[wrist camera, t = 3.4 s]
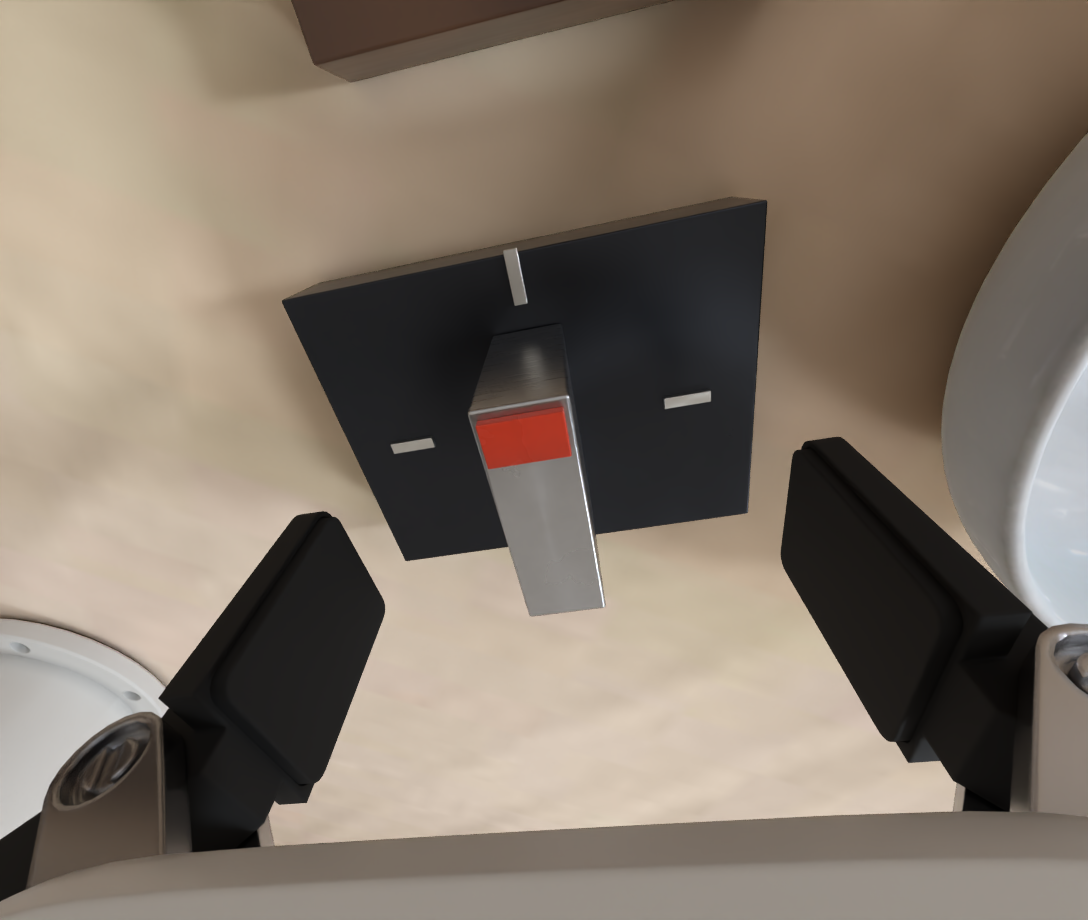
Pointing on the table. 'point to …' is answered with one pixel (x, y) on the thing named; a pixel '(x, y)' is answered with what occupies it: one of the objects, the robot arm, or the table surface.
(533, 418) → the rotary selector knob
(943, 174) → the table surface
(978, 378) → the serving bowl
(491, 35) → the control block
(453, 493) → the tap console
